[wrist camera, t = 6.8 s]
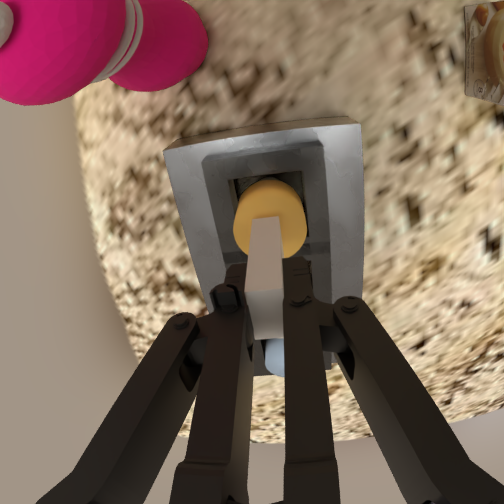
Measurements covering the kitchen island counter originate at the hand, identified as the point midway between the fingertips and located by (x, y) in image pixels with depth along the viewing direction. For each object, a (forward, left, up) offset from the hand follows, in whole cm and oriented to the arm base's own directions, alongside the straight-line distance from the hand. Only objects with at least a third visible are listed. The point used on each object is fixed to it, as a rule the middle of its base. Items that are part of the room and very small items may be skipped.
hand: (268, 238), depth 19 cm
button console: (+7, 0, -10) cm, 12 cm away
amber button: (0, 0, -7) cm, 7 cm away
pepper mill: (-13, -6, -10) cm, 17 cm away
